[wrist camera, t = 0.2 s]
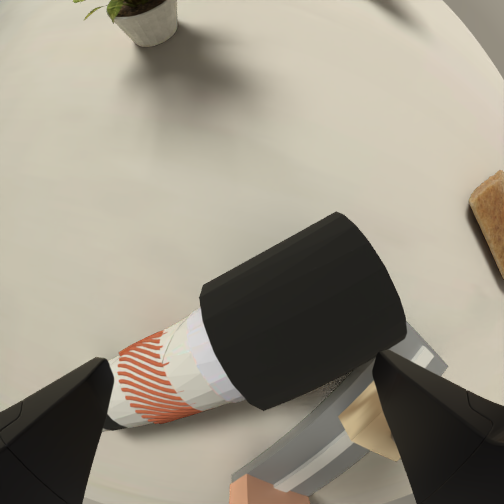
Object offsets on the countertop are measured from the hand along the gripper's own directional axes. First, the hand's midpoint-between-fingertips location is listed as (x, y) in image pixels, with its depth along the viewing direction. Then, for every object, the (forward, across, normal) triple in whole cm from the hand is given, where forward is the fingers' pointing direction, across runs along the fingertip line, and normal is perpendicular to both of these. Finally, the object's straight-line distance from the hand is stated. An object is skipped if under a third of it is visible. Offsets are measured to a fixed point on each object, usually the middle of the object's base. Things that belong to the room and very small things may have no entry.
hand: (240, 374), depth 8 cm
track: (+11, -10, +20) cm, 25 cm away
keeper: (+10, -13, +16) cm, 23 cm away
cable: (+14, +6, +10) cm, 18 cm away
